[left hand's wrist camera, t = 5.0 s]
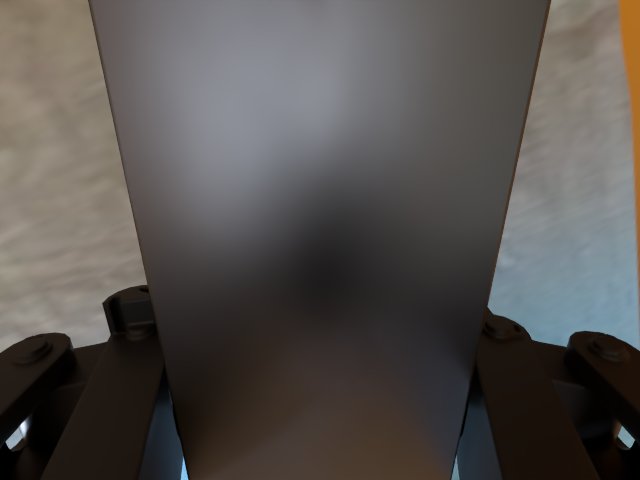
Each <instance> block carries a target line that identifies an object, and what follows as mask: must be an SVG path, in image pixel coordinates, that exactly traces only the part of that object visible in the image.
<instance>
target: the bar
mask: <svg viewBox="0 0 640 480" xmlns="http://www.w3.org/2000/svg"><path fill="white" fill-rule="evenodd" d="M88 2H89V7H90V11H91V16H92V21H93V26H94V31H95V35H96V40H97V45H98V50H99V54H100V59H101V64H102V69H103V74H104V78H105V83H106V88H107V93H108V98H109V102H110V107H111V112H112V117H113V121H114V126H115V131H116V136H117V141H118V145H119V150H120V155H121V160H122V164H123V169H124V174H125V179H126V184H127V188H128V193H129V198H130V203H131V207H132V212H133V217H134V222H135V227H136V231H137V236H138V241H139V246H140V250H141V255H142V260H143V265H144V270H145V274H146V279H147V284H148V289H149V294H150V298H151V303H152V308H153V313H154V317H155V322H156V327H157V332H158V337H159V341H160V346H161V351H162V356H163V360H164V365H165V370H166V375H167V380H168V384H169V389H170V394H171V399H172V403H173V408H174V413H175V418H176V423H177V427H178V432H179V437H180V442H181V446H182V451H183V456H184V461H185V466H186V470H187V475H188V480H451V478H452V473H453V468H454V464H455V459H456V454H457V449H458V444H459V440H460V435H461V430H462V425H463V420H464V416H465V411H466V406H467V401H468V397H469V392H470V387H471V382H472V377H473V373H474V368H475V363H476V358H477V353H478V349H479V344H480V339H481V334H482V329H483V325H484V320H485V315H486V310H487V306H488V301H489V296H490V291H491V286H492V282H493V277H494V272H495V267H496V262H497V258H498V253H499V248H500V243H501V238H502V234H503V229H504V224H505V219H506V214H507V210H508V205H509V200H510V195H511V191H512V186H513V181H514V176H515V171H516V167H517V162H518V157H519V152H520V147H521V143H522V138H523V133H524V128H525V123H526V119H527V114H528V109H529V104H530V100H531V95H532V90H533V85H534V80H535V76H536V71H537V66H538V61H539V56H540V52H541V47H542V42H543V37H544V32H545V28H546V23H547V18H548V13H549V9H550V4H551V0H88Z"/></svg>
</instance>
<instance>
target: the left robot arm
mask: <svg viewBox="0 0 640 480" xmlns="http://www.w3.org/2000/svg"><path fill="white" fill-rule="evenodd" d="M102 304H103V308H104V311H105V315H106V319H107V322H108V326H109V330H110V334H111V335H110V338H109V340H108V342H104V343H100V344H95V345H90V346H85V347H80V348H75V349H73V346H72V343H71V339H70V337H68V336H67V335H66V334H62V333H46V334H39V335H36V336H31V337H28V338H26V339H24V340H22V341H20V342H18V343H16V344H13V345H12V346H10V347H9V348H7V349H6V350H4V351H3V352H1V353H0V480H181V472H182V463H183V451H182V446H181V442H180V437H179V432H178V427H177V423H176V418H175V413H174V408H173V403H172V399H171V394H170V389H169V384H168V380H167V375H166V370H165V365H164V360H163V356H162V351H161V346H160V341H159V337H158V332H157V327H156V322H155V317H154V313H153V308H152V303H151V298H150V294H149V289H148V285H140V286H135V287H130V288H127V289H124V290H121V291H119V292H117V293H115V294H113V295H111V296H110V297H108V298H107V299H106V300H105V301H104V302H103V303H102ZM622 426H623V427H624V428H625V429H626V430H627V432H628V433H629V434H630V435H631V436H632V437H633V438H634V439H635V441H634V443H633V445H632V447H631V448H629V447H627V446H626V445H625V444H624V443H623V442H622V441H621V440H620V438H619V437H618V434H619V431H620V429H621V427H622ZM17 428H19V430H20V432H21V435H22V437H23V438H22V439H21V440H20V441H19V443H18V444H17V445H16V446H14V447H13V448H12V449H11V450H10V449H9V448H8V446H7V444H6V440H7V439H8V438H9V437H10V436H11V435H12V434H13V433H14V432H15V431H16V430H17ZM457 462H458V471H459V479H460V480H640V351H639V350H637V349H636V348H634V347H633V346H631V345H630V344H628V343H626V342H624V341H622V340H620V339H617V338H616V337H614V336H611V335H608V334H605V333H600V332H591V331H581V332H575V333H574V334H572V335H571V336H570V339H569V342H568V345H567V347H563V346H558V345H553V344H548V343H542V342H538V341H534V340H532V339H531V337H530V335H529V333H528V332H527V331H526V330H525V329H524V327H522V326H521V325H519V324H518V323H516V322H515V321H513V320H510V319H508V318H505V317H502V316H498V315H493V313H492V312H491V311H490V310H489V308H488V307H487V310H486V315H485V320H484V325H483V329H482V334H481V339H480V344H479V349H478V353H477V358H476V363H475V368H474V373H473V377H472V382H471V387H470V392H469V397H468V401H467V406H466V411H465V416H464V420H463V425H462V430H461V435H460V440H459V444H458V449H457Z"/></svg>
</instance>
